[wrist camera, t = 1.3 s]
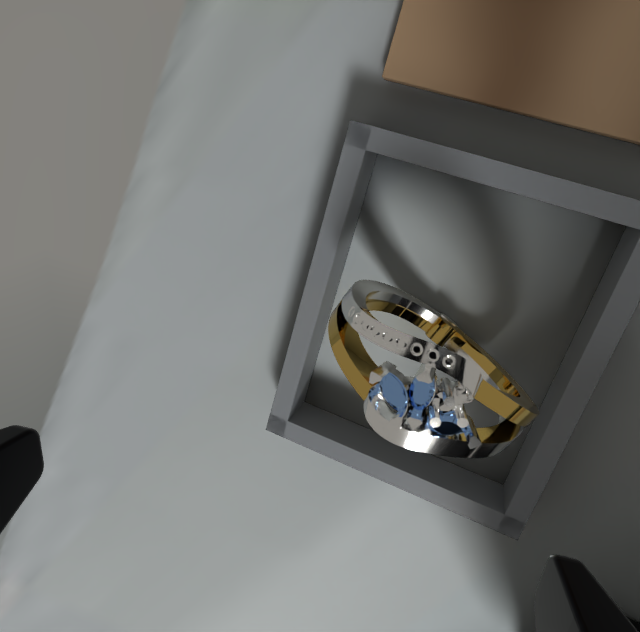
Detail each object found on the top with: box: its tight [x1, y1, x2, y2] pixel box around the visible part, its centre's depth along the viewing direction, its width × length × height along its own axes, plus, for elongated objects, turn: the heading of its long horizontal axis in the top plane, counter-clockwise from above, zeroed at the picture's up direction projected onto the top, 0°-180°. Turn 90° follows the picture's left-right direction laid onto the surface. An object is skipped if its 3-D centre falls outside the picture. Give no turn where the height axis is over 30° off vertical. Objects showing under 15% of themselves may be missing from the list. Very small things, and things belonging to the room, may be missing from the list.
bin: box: [266, 120, 640, 540], centre depth 19 cm, size 11×13×2 cm
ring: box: [328, 280, 540, 458], centre depth 16 cm, size 7×3×8 cm, turn 55°
